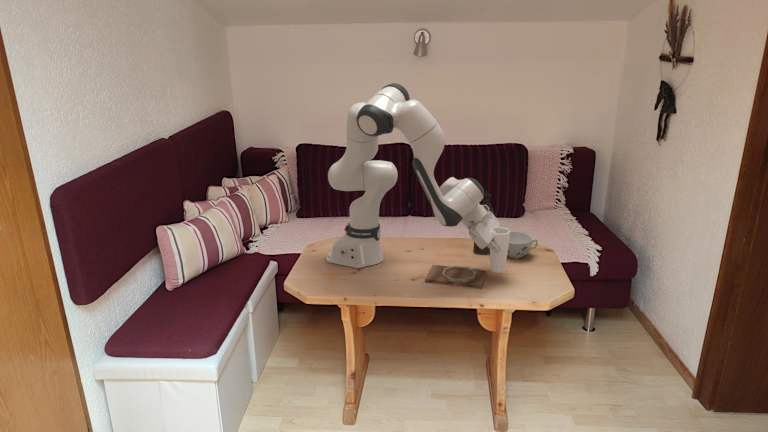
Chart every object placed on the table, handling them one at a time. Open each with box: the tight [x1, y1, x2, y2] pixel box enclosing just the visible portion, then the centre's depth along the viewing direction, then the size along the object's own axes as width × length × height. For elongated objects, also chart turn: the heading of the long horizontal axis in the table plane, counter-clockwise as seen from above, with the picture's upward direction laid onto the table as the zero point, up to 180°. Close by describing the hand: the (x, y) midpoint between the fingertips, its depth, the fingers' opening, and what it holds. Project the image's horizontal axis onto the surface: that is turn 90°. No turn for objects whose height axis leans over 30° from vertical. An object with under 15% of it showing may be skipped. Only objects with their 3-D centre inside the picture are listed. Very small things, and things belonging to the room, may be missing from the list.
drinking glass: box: [489, 226, 511, 274], centre depth 190 cm, size 7×7×15 cm
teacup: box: [507, 231, 539, 260], centre depth 212 cm, size 15×12×8 cm
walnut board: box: [424, 264, 487, 289], centre depth 195 cm, size 20×13×2 cm, turn 73°
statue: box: [473, 190, 495, 255], centre depth 213 cm, size 9×8×25 cm
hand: (500, 247), depth 189 cm, fingers closed on drinking glass, 6 cm apart
